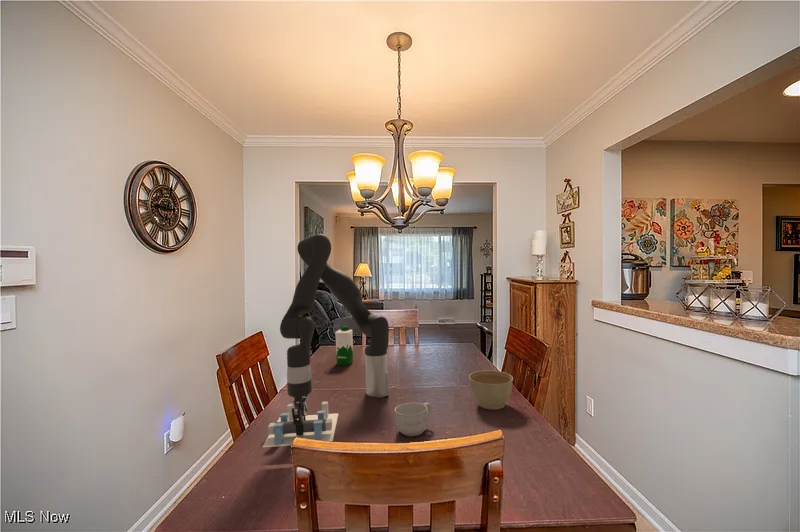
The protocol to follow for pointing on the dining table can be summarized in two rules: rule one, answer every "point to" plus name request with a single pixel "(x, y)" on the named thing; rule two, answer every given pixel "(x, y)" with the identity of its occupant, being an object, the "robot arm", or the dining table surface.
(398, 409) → the teacup
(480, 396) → the planter bowl
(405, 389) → the dining table surface
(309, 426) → the dark grey dowel
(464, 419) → the dining table surface
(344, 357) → the milk carton
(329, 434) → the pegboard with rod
